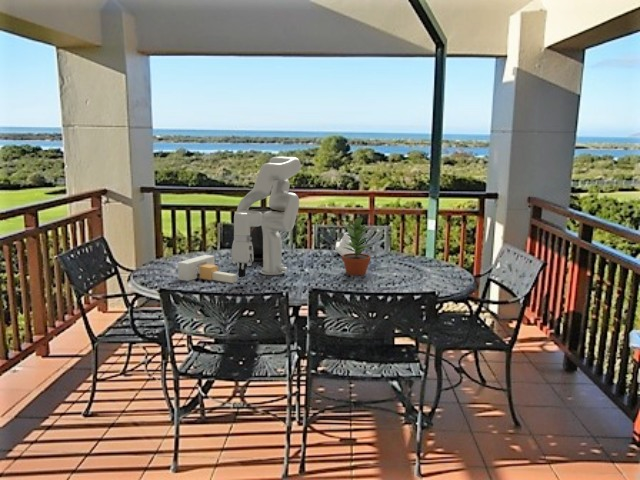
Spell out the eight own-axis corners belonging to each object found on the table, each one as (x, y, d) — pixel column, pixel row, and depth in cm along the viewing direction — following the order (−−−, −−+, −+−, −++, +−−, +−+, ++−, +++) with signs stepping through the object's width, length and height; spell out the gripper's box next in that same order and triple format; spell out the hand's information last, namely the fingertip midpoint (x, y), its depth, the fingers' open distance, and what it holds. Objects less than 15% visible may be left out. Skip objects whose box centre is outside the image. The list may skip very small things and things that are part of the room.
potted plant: (362, 268, 289) (363, 212, 284) (374, 275, 275) (376, 217, 270) (336, 270, 284) (337, 214, 278) (348, 277, 270) (349, 218, 264)
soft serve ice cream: (354, 254, 332) (360, 232, 327) (352, 261, 317) (358, 239, 313) (334, 248, 332) (340, 226, 328) (331, 255, 318) (338, 233, 314)
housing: (214, 272, 277) (214, 256, 276) (188, 280, 260) (187, 263, 259) (205, 270, 280) (205, 254, 279) (178, 279, 263) (178, 262, 261)
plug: (238, 280, 262) (238, 268, 260) (231, 283, 257) (230, 271, 256) (207, 275, 271) (206, 263, 270) (199, 278, 266) (199, 266, 265)
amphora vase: (275, 263, 297) (275, 213, 292) (237, 262, 300) (236, 212, 295) (283, 255, 318) (283, 208, 312) (248, 253, 321) (248, 207, 316)
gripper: (259, 239, 252) (259, 277, 255) (234, 236, 259) (234, 273, 262) (250, 241, 246) (250, 280, 249) (224, 238, 253) (224, 276, 256)
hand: (242, 276), depth 255 cm, fingers closed
